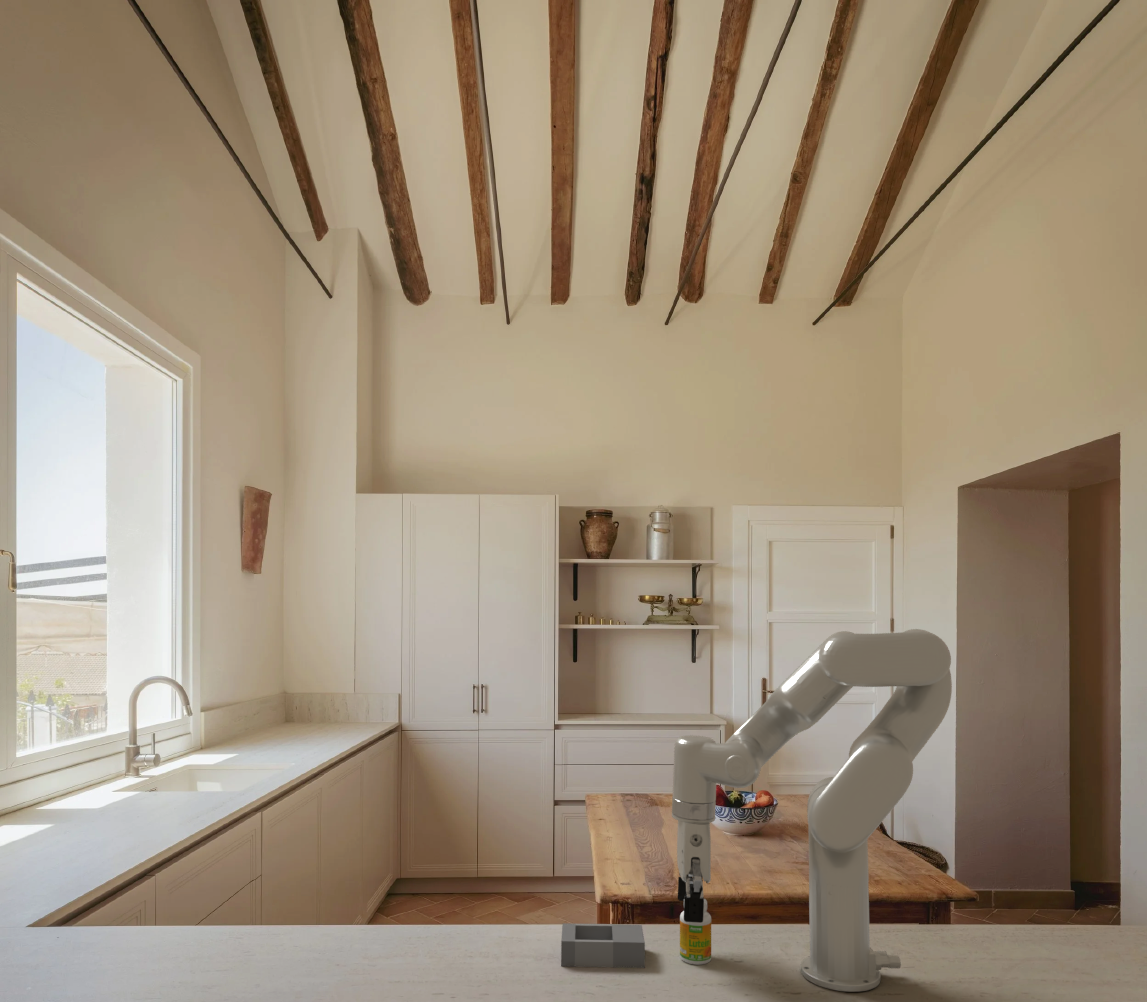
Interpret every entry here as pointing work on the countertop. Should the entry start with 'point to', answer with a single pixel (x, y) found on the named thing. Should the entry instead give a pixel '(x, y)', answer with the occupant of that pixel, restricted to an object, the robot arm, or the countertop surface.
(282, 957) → the countertop surface
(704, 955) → the supplement bottle
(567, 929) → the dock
